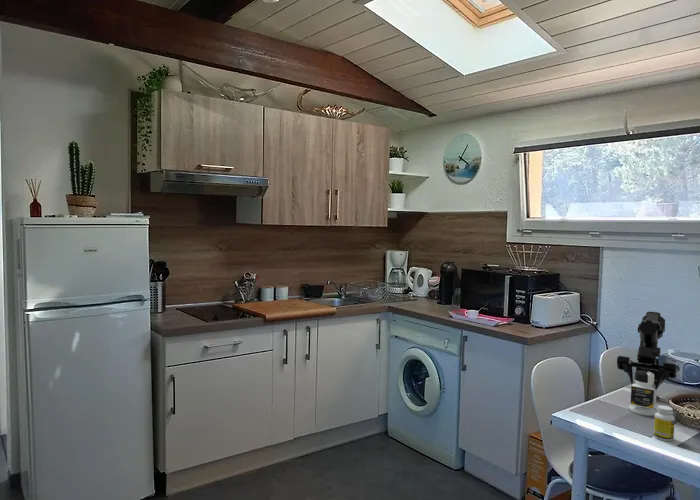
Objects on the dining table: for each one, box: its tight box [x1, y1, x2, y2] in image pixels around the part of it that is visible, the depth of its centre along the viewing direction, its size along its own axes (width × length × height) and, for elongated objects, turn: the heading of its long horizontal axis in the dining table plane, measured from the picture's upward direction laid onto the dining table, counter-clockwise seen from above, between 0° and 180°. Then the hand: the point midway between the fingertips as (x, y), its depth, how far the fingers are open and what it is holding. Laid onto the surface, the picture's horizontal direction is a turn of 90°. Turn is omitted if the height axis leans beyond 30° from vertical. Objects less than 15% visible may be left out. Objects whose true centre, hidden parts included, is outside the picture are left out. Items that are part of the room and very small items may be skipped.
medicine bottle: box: [630, 370, 658, 409], centre depth 182 cm, size 7×7×12 cm
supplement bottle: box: [653, 405, 676, 442], centre depth 159 cm, size 5×5×10 cm
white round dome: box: [628, 403, 658, 417], centre depth 183 cm, size 9×9×1 cm
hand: (643, 386), depth 181 cm, fingers closed on medicine bottle, 7 cm apart
